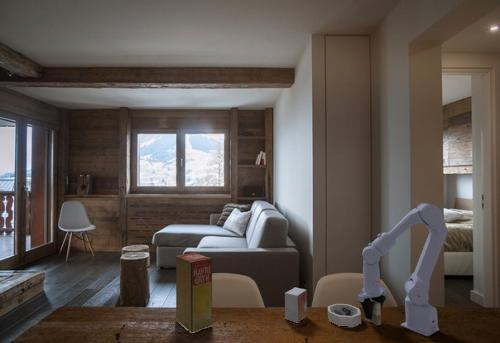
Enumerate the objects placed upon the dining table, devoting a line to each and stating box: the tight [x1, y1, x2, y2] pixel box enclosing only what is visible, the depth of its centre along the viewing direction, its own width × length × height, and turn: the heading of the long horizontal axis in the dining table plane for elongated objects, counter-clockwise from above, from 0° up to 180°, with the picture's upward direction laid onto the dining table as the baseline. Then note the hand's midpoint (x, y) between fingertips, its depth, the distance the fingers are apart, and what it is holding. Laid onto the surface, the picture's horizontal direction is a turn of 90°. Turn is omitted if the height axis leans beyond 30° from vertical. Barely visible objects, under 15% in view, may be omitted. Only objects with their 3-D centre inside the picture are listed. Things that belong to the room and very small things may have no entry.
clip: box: [335, 306, 353, 316], centre depth 114 cm, size 4×6×3 cm
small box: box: [284, 287, 308, 324], centre depth 115 cm, size 8×6×10 cm
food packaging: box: [175, 252, 213, 332], centre depth 113 cm, size 13×9×25 cm
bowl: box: [327, 303, 362, 328], centre depth 114 cm, size 12×12×4 cm
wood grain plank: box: [364, 299, 382, 326], centre depth 111 cm, size 5×2×8 cm, turn 33°
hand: (372, 316), depth 111 cm, fingers open, 4 cm apart
